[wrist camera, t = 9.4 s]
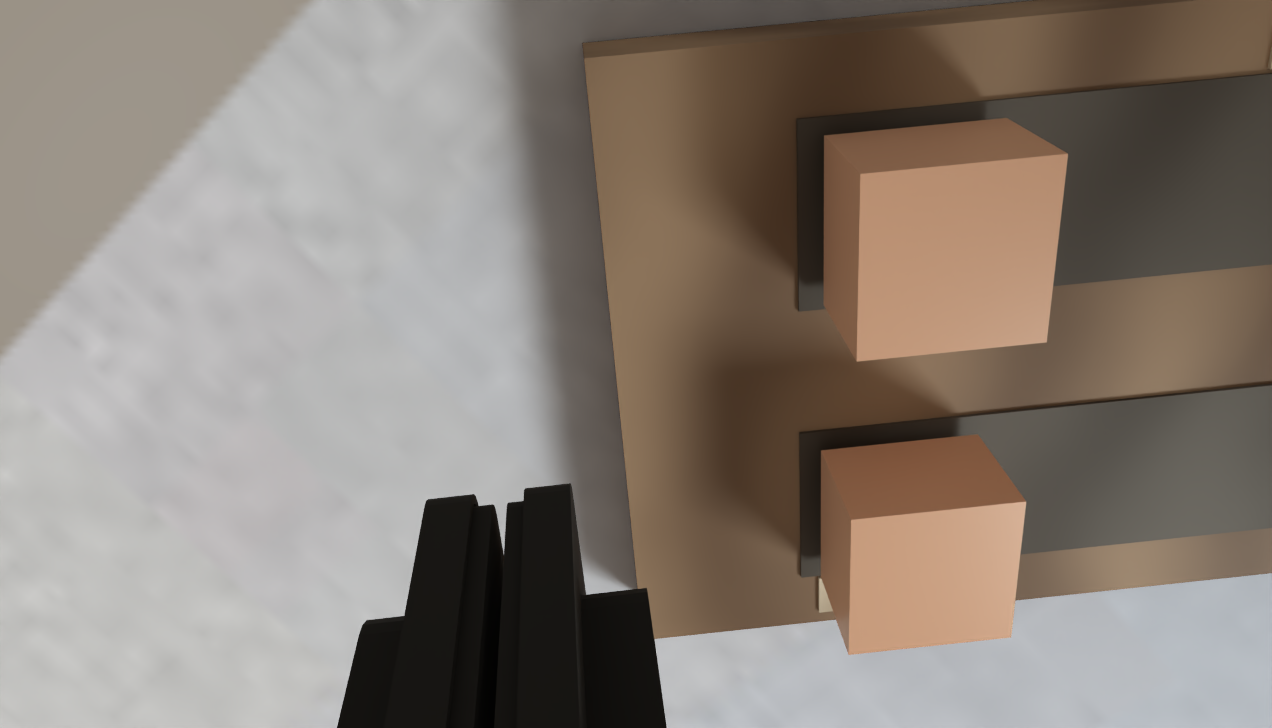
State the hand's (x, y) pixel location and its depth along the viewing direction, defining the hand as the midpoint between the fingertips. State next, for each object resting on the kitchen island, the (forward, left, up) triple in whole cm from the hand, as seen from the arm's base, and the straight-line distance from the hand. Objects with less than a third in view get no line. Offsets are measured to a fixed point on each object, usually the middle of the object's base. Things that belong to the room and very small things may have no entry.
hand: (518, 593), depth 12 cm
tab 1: (-8, 0, -12) cm, 15 cm away
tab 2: (-8, +8, -12) cm, 17 cm away
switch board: (-12, +4, -15) cm, 19 cm away
